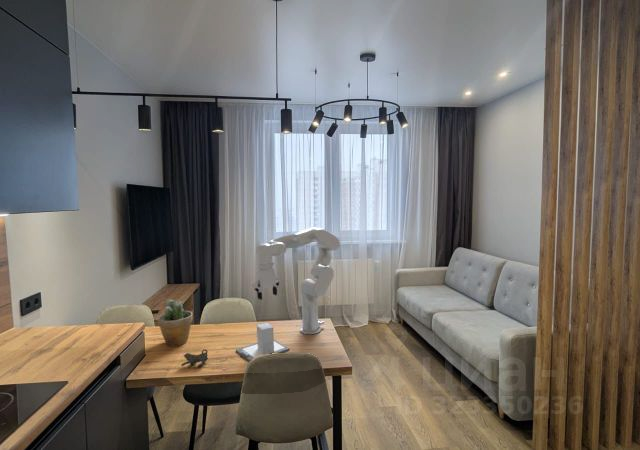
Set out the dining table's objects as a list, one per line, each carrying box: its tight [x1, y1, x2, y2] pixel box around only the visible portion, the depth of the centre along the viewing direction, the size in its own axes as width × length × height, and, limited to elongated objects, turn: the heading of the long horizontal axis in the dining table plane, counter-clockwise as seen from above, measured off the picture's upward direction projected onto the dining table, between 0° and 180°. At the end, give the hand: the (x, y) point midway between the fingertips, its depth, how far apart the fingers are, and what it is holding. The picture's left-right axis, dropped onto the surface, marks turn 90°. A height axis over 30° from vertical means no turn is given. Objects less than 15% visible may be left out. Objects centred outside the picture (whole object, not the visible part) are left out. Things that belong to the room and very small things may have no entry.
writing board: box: [235, 339, 290, 362], centre depth 180 cm, size 22×18×2 cm
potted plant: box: [157, 299, 193, 347], centre depth 192 cm, size 18×19×25 cm
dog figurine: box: [181, 349, 209, 368], centre depth 165 cm, size 12×6×7 cm, turn 99°
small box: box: [256, 322, 275, 354], centre depth 177 cm, size 8×6×13 cm
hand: (267, 296), depth 187 cm, fingers open, 9 cm apart
